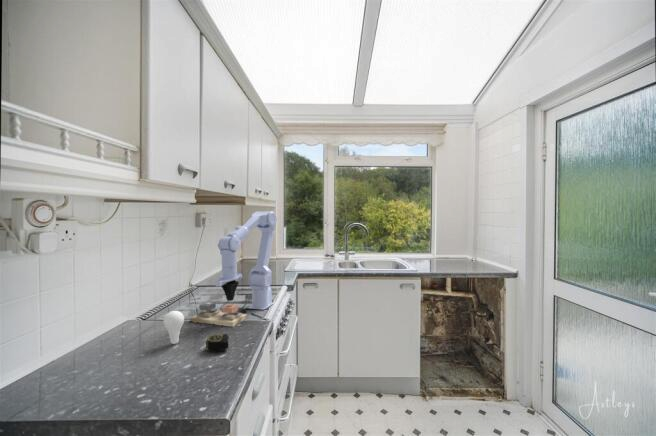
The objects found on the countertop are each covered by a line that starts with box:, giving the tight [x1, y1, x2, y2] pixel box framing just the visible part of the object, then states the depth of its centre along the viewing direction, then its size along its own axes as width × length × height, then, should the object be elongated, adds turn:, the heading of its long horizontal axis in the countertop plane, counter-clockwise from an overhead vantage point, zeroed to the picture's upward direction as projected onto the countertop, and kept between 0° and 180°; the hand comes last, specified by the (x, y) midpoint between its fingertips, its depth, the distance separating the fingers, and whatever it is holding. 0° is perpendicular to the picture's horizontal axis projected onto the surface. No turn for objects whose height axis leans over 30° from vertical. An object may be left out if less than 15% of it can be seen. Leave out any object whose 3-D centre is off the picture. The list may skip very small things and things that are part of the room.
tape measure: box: [205, 333, 230, 353], centre depth 96 cm, size 7×7×4 cm
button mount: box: [189, 309, 248, 328], centre depth 122 cm, size 10×20×2 cm, turn 73°
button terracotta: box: [221, 303, 239, 313], centre depth 120 cm, size 4×4×2 cm
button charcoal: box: [198, 301, 217, 311], centre depth 124 cm, size 4×4×2 cm
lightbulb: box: [163, 310, 185, 345], centre depth 100 cm, size 6×6×11 cm
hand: (230, 300), depth 120 cm, fingers closed
